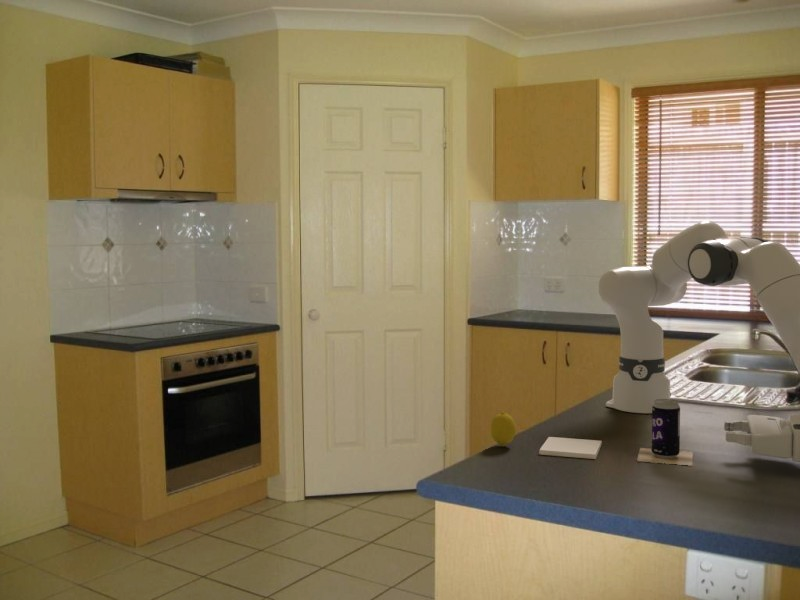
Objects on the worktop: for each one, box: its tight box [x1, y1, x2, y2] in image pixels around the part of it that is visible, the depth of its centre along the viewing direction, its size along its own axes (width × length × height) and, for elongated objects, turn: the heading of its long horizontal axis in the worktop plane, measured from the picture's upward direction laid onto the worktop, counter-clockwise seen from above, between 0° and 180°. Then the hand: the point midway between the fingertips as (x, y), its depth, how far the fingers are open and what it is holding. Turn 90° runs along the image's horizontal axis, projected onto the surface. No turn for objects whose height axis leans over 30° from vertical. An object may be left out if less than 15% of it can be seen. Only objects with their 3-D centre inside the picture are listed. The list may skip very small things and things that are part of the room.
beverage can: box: [651, 398, 681, 459], centre depth 174 cm, size 6×6×12 cm
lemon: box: [490, 411, 516, 448], centre depth 184 cm, size 6×6×8 cm
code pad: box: [636, 447, 694, 467], centre depth 174 cm, size 11×11×1 cm
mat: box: [538, 436, 603, 460], centre depth 181 cm, size 12×12×1 cm
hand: (724, 431), depth 170 cm, fingers open, 8 cm apart
